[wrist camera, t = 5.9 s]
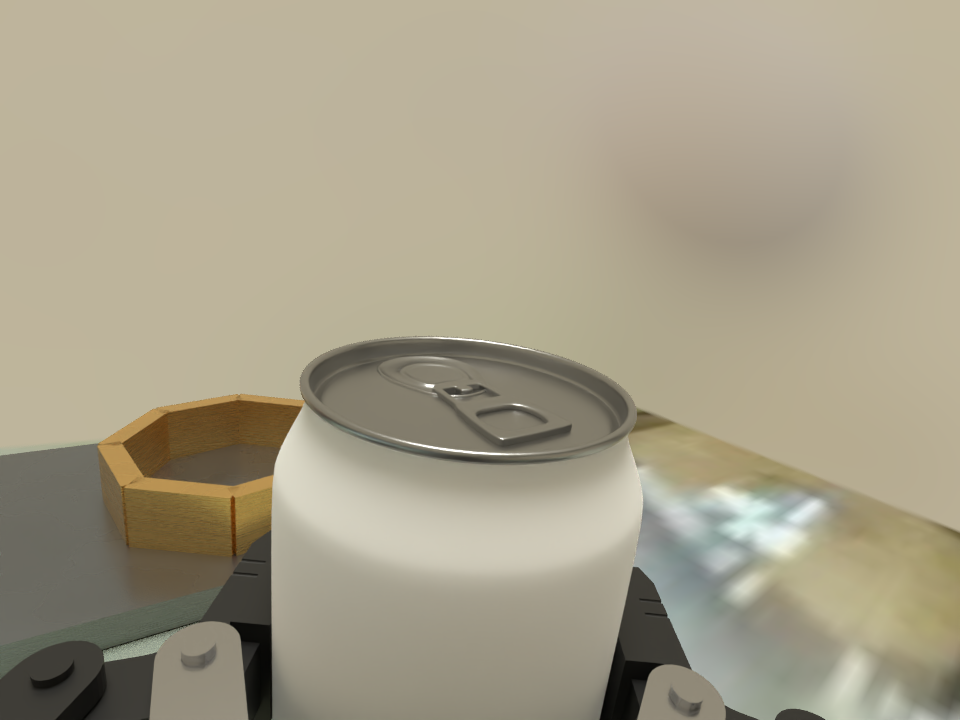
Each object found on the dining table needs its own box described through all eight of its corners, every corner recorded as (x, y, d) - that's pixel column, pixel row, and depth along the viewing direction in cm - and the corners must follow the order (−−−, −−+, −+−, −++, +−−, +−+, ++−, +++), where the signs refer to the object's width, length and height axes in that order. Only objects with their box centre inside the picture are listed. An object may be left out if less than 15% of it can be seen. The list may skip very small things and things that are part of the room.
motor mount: (383, 424, 35) (387, 371, 34) (492, 533, 25) (501, 463, 24) (-23, 482, 24) (-36, 407, 23) (-124, 717, 14) (-157, 603, 13)
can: (457, 689, 17) (502, 324, 14) (615, 906, 12) (747, 420, 9) (240, 808, 13) (226, 341, 10) (342, 1195, 8) (385, 531, 5)
